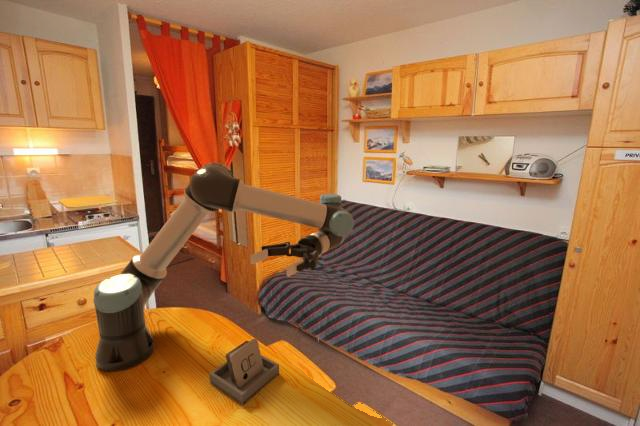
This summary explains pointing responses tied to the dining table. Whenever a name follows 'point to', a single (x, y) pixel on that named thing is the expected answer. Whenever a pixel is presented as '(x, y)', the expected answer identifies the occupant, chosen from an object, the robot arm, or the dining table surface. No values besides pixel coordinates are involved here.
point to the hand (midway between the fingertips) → (268, 265)
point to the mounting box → (246, 392)
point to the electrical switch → (244, 362)
